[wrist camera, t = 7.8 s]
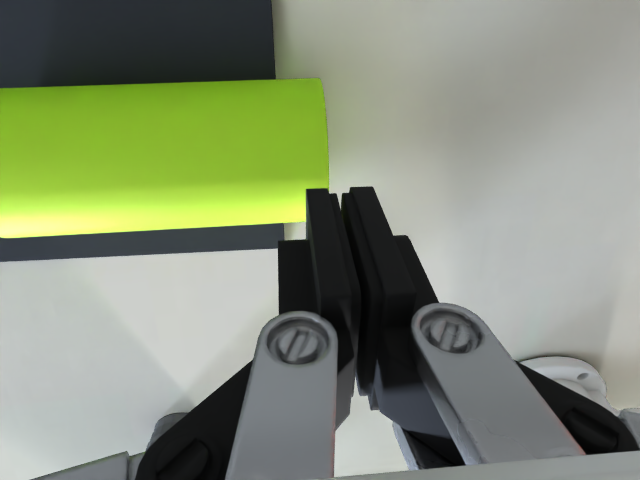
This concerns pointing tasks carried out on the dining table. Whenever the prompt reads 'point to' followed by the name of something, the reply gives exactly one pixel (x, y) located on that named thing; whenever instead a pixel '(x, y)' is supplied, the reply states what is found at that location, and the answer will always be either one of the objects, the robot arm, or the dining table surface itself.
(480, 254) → the dining table surface
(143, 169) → the soap dispenser
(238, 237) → the placemat
